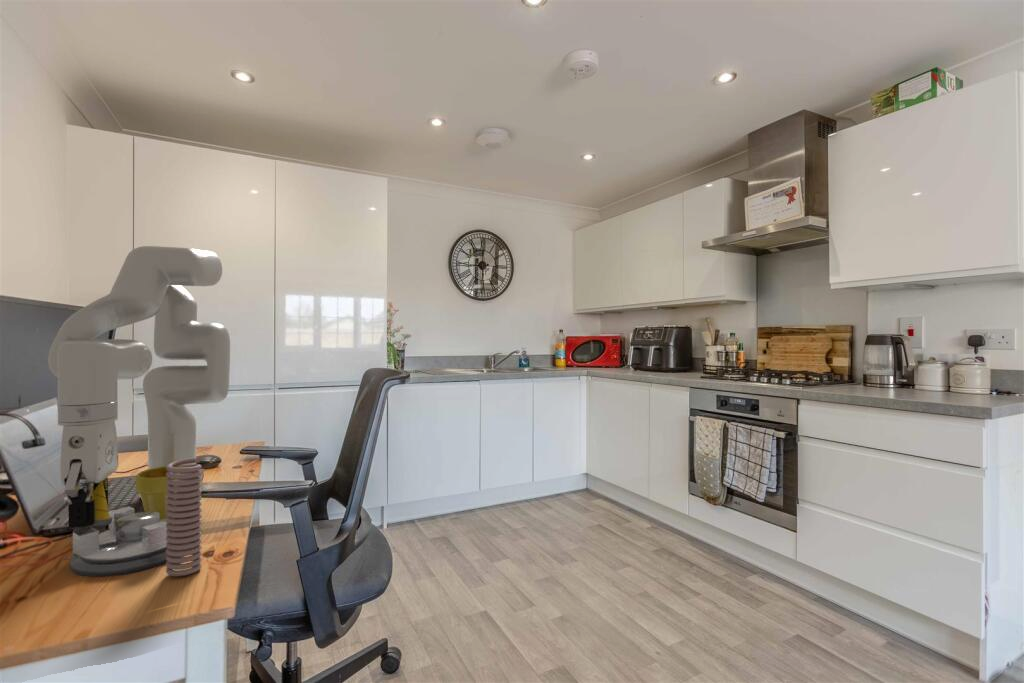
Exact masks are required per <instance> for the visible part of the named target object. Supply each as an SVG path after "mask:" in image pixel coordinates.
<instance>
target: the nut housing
mask: <svg viewBox="0 0 1024 683" xmlns="http://www.w3.org/2000/svg"><path fill="white" fill-rule="evenodd" d="M186 544H189V543H186ZM183 545H184V544H183ZM187 550H191V549H187ZM183 551H186V550H183ZM166 556H167V553H166V550H164V551H161V552H158V553H155V554H152V555H149V556H145V557H141V558H137V559H132V560H127V561H121V562H113V563H89V562H84V561H82V560H81V559H79V556H78V555H77V554H75V553H74V552H73V553H72V556H71V558H70V562H69V563H70V571H71V572H72V573H73V574H75V575H76V576H77V575H78V576H81V577H90V578H91V577H92V578H96V577H97V578H99V577H101V578H103V577H104V578H106V577H116V576H124V575H129V574H134V573H138V572H142V571H145V570H149V569H153V568H155V567H159V566H161V565H166V562H167V560H166Z"/></svg>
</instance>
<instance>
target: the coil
mask: <svg viewBox="0 0 1024 683" xmlns="http://www.w3.org/2000/svg"><path fill="white" fill-rule="evenodd" d="M200 461H201V459H200V458H199V457H196V458H189V459H183V460H179V461H175V462H172V463H170V464H168V465H167V467H166V470H167V471H168V472H167V473H166V476H167V477H168V478H167V479H166V482H167V486H166V489H167V490H168V491H167V492H166V495H167V496H168V497H167V498H166V502H167V505H166V508H167V509H168V510H167V511H166V515H167V518H166V521H167V524H166V528H167V530H166V534H167V536H166V540H167V543H166V547H167V549H166V553H167V556H166V560H167V562H166V563H165V566H166V568H165V572H166V574H167V575H169V576H171V577H182V576H183V577H184V576H189V575H192V574H194V573H197V572H198V571H199V570H201V569H202V566H203V565H202V559H203V558H202V557H201V556H202V551H201V550H202V545H201V543H202V538H201V537H202V535H203V534H202V532H201V531H202V520H200V519H202V517H203V515H202V514H201V513H202V512H203V511H202V508H201V507H202V504H203V503H202V502H201V500H202V492H203V491H201V489H199V488H201V486H202V485H201V484H202V483H201V481H202V477H201V475H202V471H201V469H202V467H203V466H202V465H201V464H199V463H200ZM188 463H196V464H190V465H184V466H179V467H175V466H178V465H182V464H188ZM173 473H176V474H173ZM174 479H177V480H174ZM173 486H175V487H173ZM173 492H175V493H173ZM174 498H175V499H174ZM173 505H174V506H173ZM173 511H175V512H173ZM172 524H173V525H172ZM186 537H188V538H186ZM172 543H173V544H172ZM186 543H189V544H186ZM183 544H184V545H183ZM187 549H191V550H187ZM183 550H186V551H183Z"/></svg>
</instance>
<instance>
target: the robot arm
mask: <svg viewBox="0 0 1024 683" xmlns="http://www.w3.org/2000/svg"><path fill="white" fill-rule="evenodd" d="M222 275H223V265H222V262H221V259H220V257H219V256H218V254H216V252H213V251H210V250H203V249H196V248H192V247H191V248H190V247H188V248H187V247H177V246H176V247H175V246H172V247H171V246H159V245H156V246H155V245H143V246H139V247H135V248H133V249H131V251H130V252H128V254H127V256H126V257H125V260H124V261H123V264H122V266H121V268H120V271H119V272H118V275H117V277H116V279H115V281H114V284H113V285H112V287H111V290H110V292H109V293H108V294H107V295H105V296H102V297H100V298H98V299H96V300H93V301H92V302H91V303H89V304H88V305H85V306H83V307H82V308H80V309H79V310H77V311H75V312H74V313H73V314H71V315H70V316H69V317H67V319H66V320H64V322H63V323H62V325H61V327H59V330H58V332H57V334H56V335H55V338H54V340H53V342H52V344H51V346H50V349H49V352H48V357H47V364H48V368H49V370H50V372H51V373H52V374H53V376H55V377H57V425H58V426H61V427H62V434H61V445H60V464H59V465H60V467H59V468H60V470H59V471H60V481H61V484H62V485H63V486H64V491H63V492H64V493H65V494H66V496H67V506H68V508H67V509H68V513H67V514H68V528H70V529H74V528H75V527H83V526H91V525H93V524H94V523H95V500H92V496H93V492H94V490H95V489H96V487H97V486H98V484H99V483H100V482H101V481H103V486H104V491H105V496H106V498H105V499H106V501H107V506H108V507H109V489H108V488H109V480H108V477H110V476H111V475H112V474H113V473H115V472H116V471H117V470H118V469H119V452H118V451H119V450H118V436H117V435H118V434H117V426H116V422H115V421H118V419H119V418H118V415H119V413H118V412H119V410H118V408H119V407H118V404H119V403H118V381H119V380H133V379H138V378H140V377H142V376H144V377H143V379H142V391H143V395H144V400H145V404H146V405H145V406H146V410H147V411H146V412H147V469H151V468H156V467H161V466H167V465H168V464H170V463H172V462H175V461H179V460H183V459H189V458H197V421H196V418H195V416H194V414H192V412H191V411H190V409H189V408H187V406H185V405H199V404H200V405H201V404H202V405H203V404H217V403H221V402H223V401H224V400H225V399H226V398H227V397H228V395H229V394H228V393H229V388H230V368H231V367H230V365H231V339H230V333H229V331H228V329H227V327H225V325H224V324H223V325H222V324H221V323H217V322H198V321H197V320H198V303H197V301H196V299H195V298H194V296H193V295H192V294H191V293H190V292H189V291H188V290H187V289H186V288H185V286H186V287H212V286H215V285H216V284H217V283H219V282H220V280H221V278H222ZM153 317H154V329H153V350H154V354H155V356H157V358H159V359H162V360H166V361H205V362H206V365H164V366H163V365H162V366H158V367H155V368H153V369H150V368H151V367H152V363H153V354H152V351H151V349H150V348H149V347H148V345H147V344H145V343H144V342H142V341H139V340H135V339H127V338H126V339H121V338H120V339H118V338H117V339H113V338H112V339H111V338H97V337H100V336H101V335H103V334H105V333H107V332H109V331H112V330H115V329H118V328H122V327H125V326H129V325H133V324H136V323H139V322H143V321H145V320H148V319H150V318H153ZM190 464H197V463H188V464H182V465H190ZM81 480H84V482H81ZM84 488H85V489H84ZM140 497H141V495H140V494H139V498H140ZM91 527H92V526H91Z"/></svg>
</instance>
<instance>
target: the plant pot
mask: <svg viewBox="0 0 1024 683" xmlns="http://www.w3.org/2000/svg"><path fill="white" fill-rule="evenodd" d="M179 466H184V465H178V466H175V467H179ZM166 467H167V466H161V467H156V468H151V469H148V468H147V469H144V470H142V471H140V472H138V473H137V474H136V476H135V490H136V492H137V493H138V494H139V496H140V495H141V499H142V506H143V510H144V511H143V512H147V511H155V512H159V514H160V520H162V519H166V518H167V515H166V511H167V510H168V509H167V508H166V505H167V502H166V498H167V497H168V496H167V495H166V492H167V491H168V490H167V489H166V486H167V482H166V479H167V478H168V477H167V476H166V473H167V472H168V471H167V470H166ZM173 474H176V473H173ZM174 480H177V479H174ZM173 487H175V486H173ZM173 493H175V492H173ZM174 499H175V498H174ZM173 506H174V505H173Z"/></svg>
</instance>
